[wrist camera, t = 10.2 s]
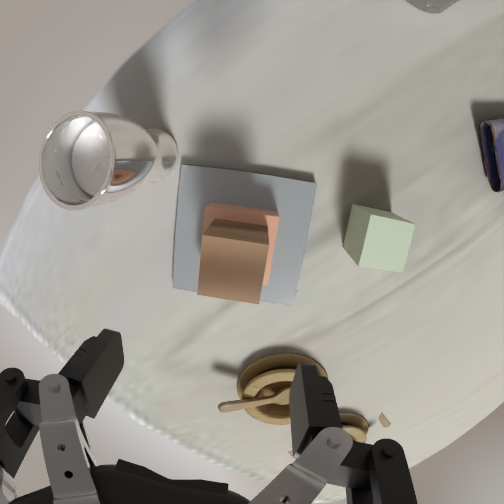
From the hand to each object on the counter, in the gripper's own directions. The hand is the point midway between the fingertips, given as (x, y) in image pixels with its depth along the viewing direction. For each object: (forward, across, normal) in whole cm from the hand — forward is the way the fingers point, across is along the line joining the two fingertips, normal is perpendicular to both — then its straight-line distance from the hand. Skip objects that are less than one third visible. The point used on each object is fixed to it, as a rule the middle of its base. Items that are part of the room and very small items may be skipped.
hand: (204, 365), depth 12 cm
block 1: (+17, 0, 0) cm, 17 cm away
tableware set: (+22, -14, +28) cm, 38 cm away
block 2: (+21, -14, -3) cm, 26 cm away
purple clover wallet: (+22, -30, -16) cm, 40 cm away
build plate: (+21, 0, 0) cm, 21 cm away
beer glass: (+21, +11, -8) cm, 25 cm away
